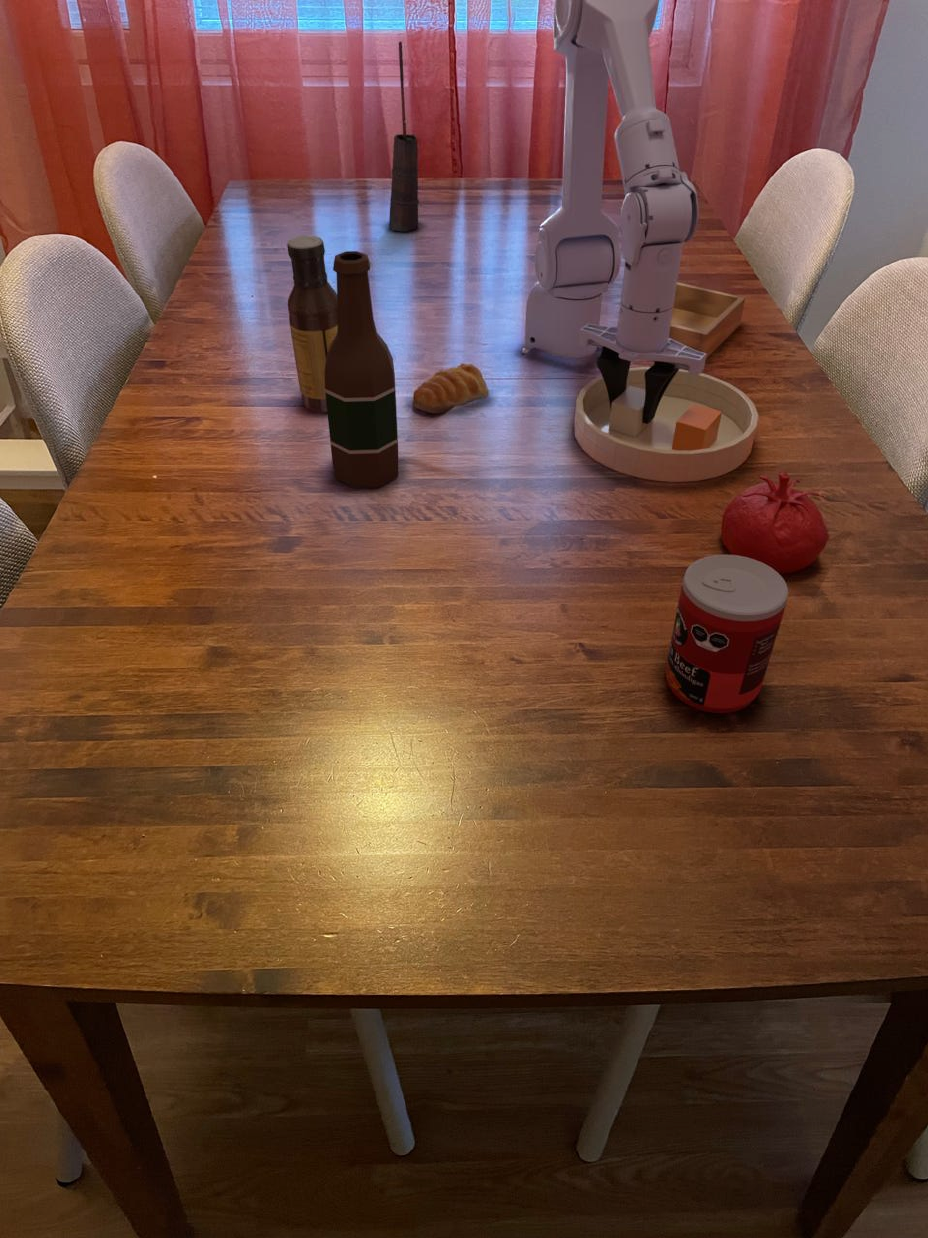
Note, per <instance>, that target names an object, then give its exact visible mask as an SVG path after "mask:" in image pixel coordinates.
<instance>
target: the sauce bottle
mask: <svg viewBox="0 0 928 1238" xmlns="http://www.w3.org/2000/svg"><path fill="white" fill-rule="evenodd" d="M286 244H287V245H286V246H287V253H288V257H289V259H290V262H291V271H292V279H293V286H292V289H291V291H290V294H289V296H288V298H287V311H288V314H289V315H288V321H289V328H290V334H291V335H290V336H291V343H292V349H293V355H294V361H295V362H294V363H295V367H296V368H295V369H296V374H297V380H298V385H299V392H300V393H301V401H302V404H303V406H304V407H305V408H307V409H308V410H309V411H312V412H314V413H319V414H322V413H323V414H327V404H326V394H325V364H326V358H327V354H328V350H329V346H330V345H331V343H332V341H333V340H334V338H335V336H336V335H337V330H338V309H337V291H336V290H335V289H334V288H333V286H332V285H331V284H330V282H329V280H328V274H327V271H326V262H325V253H326V249H325V243H324V240H323V239H322V238H321V237H320V236H316V235H300V236H296V237H293V238H292V239H289V240H288V242H287V243H286Z"/></svg>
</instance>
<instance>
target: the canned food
mask: <svg viewBox="0 0 928 1238" xmlns="http://www.w3.org/2000/svg"><path fill="white" fill-rule="evenodd" d="M680 587H681V588H680V592H679V598H678V603H677V607H676V608H677V609H676V613H675V619H674V624H673V629H672V634H671V639H670V645H669V650H668V655H667V660H666V664H665V677H666V681H667V685H668V686H669V689H670V690H671V692H672V693H673V695H675V697H677V698H678V700H679V701H681V702H682V703H684V704H686V705H687V706H690V707H692V708H694V709H696V710H699V711H702V712H707V713H711V714H730V713H734V712H739V711H741V710H743V709H745V708H747V707H748V706H750V705H751V704H752V702H754V700H755V699H756V698H757V696H758V695H759V693H760V692H761V689H762V686H763V683H764V680H765V676H766V673H767V670H768V667H769V664H770V659H771V656H772V653H773V650H774V646H775V643H776V639H777V636H778V633H779V630H780V626H781V624H782V620H783V616H784V614H785V609H786V605H787V601H788V595H789V590H788V585H787V583H786V580H785V579H784V578H783V576H782V575H781V574H779V573H778V572H776V571H775V570H774V569H772V568H771V567H769V566H767V565H766V564H764V563H762V562H759V561H757V560H754V559H751V558H747V557H743V556H737V555H731V554H714V555H708V556H705V557H701V558H699V559H697V560H695V561H694V562H693V563H691V564H690V565H689V566H688V567H687V569H686V571H685V573H684V576H683V579H682V584H681V586H680Z"/></svg>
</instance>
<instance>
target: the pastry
mask: <svg viewBox="0 0 928 1238" xmlns="http://www.w3.org/2000/svg"><path fill="white" fill-rule="evenodd" d="M487 396H489V388H488V385H487V382H486V380H485V379H484V376H483V373H482V372H481V370H480V369H479V368H478V367H477V366H475V365H474V364H472V363H468V364H467V363H466V364H465V363H463V362H462V363H460V365H457V366H456V367H451V368H446V369H441V370H439V371H436V372H435V373H434V375H432V376H431V377H430V378H428V379H427V380H426V381H424V382H423V383H422V384H421V385H419V386H418V387H417V389H416V390H414V391H413V395H412V406H414V407H415V408H416V409H419V410H421V411H424V412H427V413H431V414H433V415H435V414H443V413H446V412H450V411H451V410H452V409H453V408H455V407H457V406H462V405H465V404H467V403H470V402H473V401H475V400H478V399H481V398H486V397H487Z"/></svg>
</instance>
